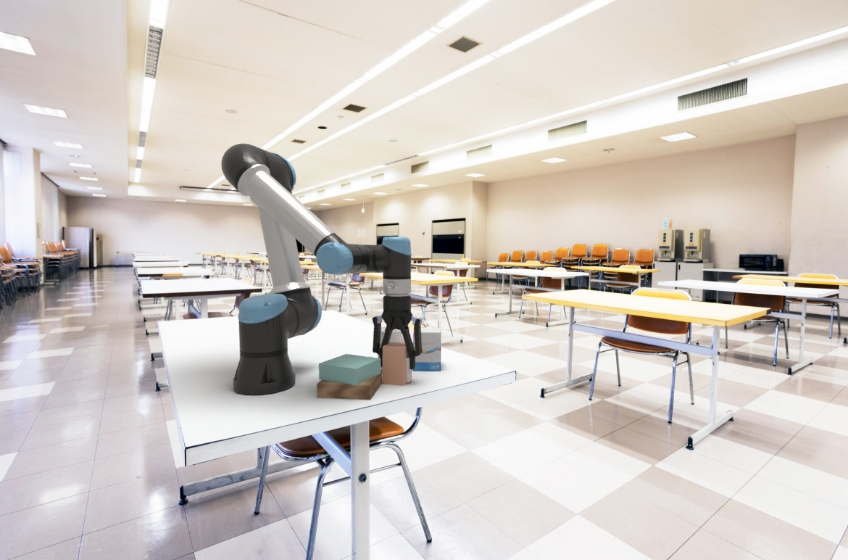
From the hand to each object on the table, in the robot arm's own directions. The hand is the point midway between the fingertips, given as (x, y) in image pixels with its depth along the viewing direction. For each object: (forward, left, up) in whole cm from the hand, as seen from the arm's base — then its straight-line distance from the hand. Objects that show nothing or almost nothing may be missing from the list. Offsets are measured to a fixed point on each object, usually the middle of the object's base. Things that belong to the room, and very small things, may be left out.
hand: (397, 379), depth 111 cm
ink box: (+4, +16, -1) cm, 17 cm away
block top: (-9, -10, +3) cm, 14 cm away
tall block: (0, 0, 0) cm, 0 cm away
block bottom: (-9, -10, -1) cm, 13 cm away
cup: (-6, +11, -1) cm, 13 cm away
